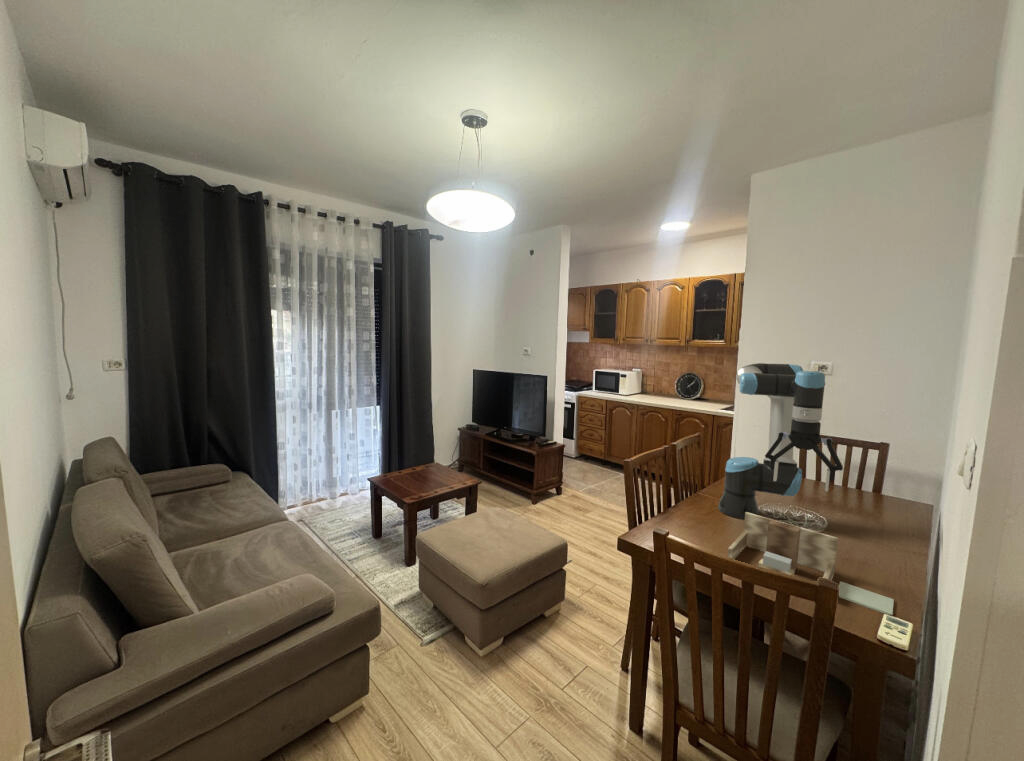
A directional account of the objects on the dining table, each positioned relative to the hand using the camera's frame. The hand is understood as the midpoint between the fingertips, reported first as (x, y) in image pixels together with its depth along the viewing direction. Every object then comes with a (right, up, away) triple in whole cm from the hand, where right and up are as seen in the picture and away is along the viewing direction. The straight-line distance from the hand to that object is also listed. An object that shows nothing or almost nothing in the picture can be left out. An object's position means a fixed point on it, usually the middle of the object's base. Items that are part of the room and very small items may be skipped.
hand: (800, 485), depth 132 cm
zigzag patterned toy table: (-7, -27, 0) cm, 28 cm away
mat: (+8, -29, -14) cm, 33 cm away
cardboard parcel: (-5, -27, +2) cm, 27 cm away
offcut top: (-9, -25, -3) cm, 27 cm away
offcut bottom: (-10, -28, -3) cm, 30 cm away
